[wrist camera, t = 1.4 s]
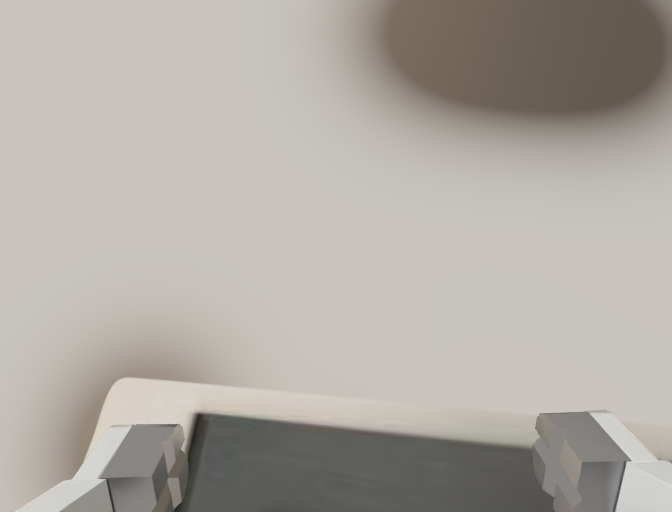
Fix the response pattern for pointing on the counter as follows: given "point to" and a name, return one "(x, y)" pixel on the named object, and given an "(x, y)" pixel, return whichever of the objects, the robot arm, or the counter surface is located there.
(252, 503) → the counter surface
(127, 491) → the robot arm
